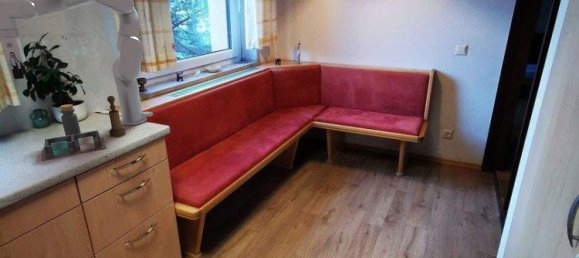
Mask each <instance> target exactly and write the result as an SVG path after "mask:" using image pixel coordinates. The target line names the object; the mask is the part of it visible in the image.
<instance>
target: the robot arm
mask: <svg viewBox="0 0 579 258" xmlns="http://www.w3.org/2000/svg"><path fill="white" fill-rule="evenodd" d="M134 2H135V1H134V0H0V40H1V42H2V45H3V46H2V47H3V50H4V53H5V56H6V59H7V60H6V61H7V62H8V63H9V64H10V68H11V72H12V76H13V78H14V80H22V79H25V75H27V70H26V65H25V64H24V63H25V62H26V60H27V59H26V56H25V53H24V49H23V46H22V43H21V41H20V38H22V35H21V30H20V28H19V24H18V21H17V20H24V21H25V20H26V21H29V20H33V19H35V18H37V17H41V16H42V17H43V16H45V15H49V14H51V13H52V14H53V13H56V12H65V11H68V10H72V9H76V8H79V7H82V6H86V5H89V4H90V5H91V4H93V3H97V4H100V5H102V6H104V7H106V8H109V9H111V10H112V11H113V12H115V13H116V15H117V16H118V20H119V27H118V36H117V41H116V48H117V51H118V53H119V56H118V58H117V59H115V60H114V61H113V62H112V67H111V71H112V74H113V79H114V83H115V86H116V91H117V99H118V103H119V107H120V108H119V109H120V114H121V117H122V118H120V122H121V126H137V125H141V124H143V123H145V122H147V120H148V118H147V117H152V116H154V113H153V112H152V111H150V112H149V111H145V112H144V111H143V108H142V102H141V97H140V90H139V84H138V80H137V78H138V77H139V75H140V73H141V67H142V62H143V61H142V60H143V53H144V46H143V43H142V41H141V40H140V39H139V36H140V35H139V34H140V27H141V26H140V17H139V14H138V12H137V10H136V8H135V3H134Z"/></svg>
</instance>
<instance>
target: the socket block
mask: <svg viewBox="0 0 579 258" xmlns="http://www.w3.org/2000/svg"><path fill="white" fill-rule="evenodd" d="M104 149H105V150H106V149H107V145H106V141H105V139H104V136H100V133H99V130H92V131H85V132H81V133H79V134H73V135H67V136H66V135H63V136H57V137H51V138H50V137H49V138H45V139H44V144H43V149H42V154H41V155H42V156H41V161H42V162H46V161H49V160H55V159H59V158H65V157H69V156H74V155H80V154H85V153H90V152H95V151H100V150H101V151H102V150H104Z"/></svg>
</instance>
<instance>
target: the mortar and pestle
mask: <svg viewBox="0 0 579 258" xmlns="http://www.w3.org/2000/svg"><path fill="white" fill-rule="evenodd" d="M106 100H107V102H108V103H109V105H110V106H109V109H110V110H109V111H108V115H109V120H110V125H111V126H110V127H111V128H110V129H109V132H108V133H109V136H110V137H112V138H118V137H119V138H121V137H123V136H126V134H127V132H126V129H125V128H124V127H123V126H122V125H121V122H120V120H121V117H120V111H119V110H118V109H116V105H115V100H116V98H115V96H113V95H108V96H107V99H106Z"/></svg>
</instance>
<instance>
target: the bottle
mask: <svg viewBox="0 0 579 258" xmlns="http://www.w3.org/2000/svg"><path fill="white" fill-rule="evenodd" d="M59 109H61V110H60V113H61V114H62V115H61V116H60V118H61V123H62V127H63V131H64V136H67V135H73V134H79V133H82V131H81V127H80V123H79V119H78V116H77V113H74V112H75V108H74V105H73V104H63V105H61V106H59Z"/></svg>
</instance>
